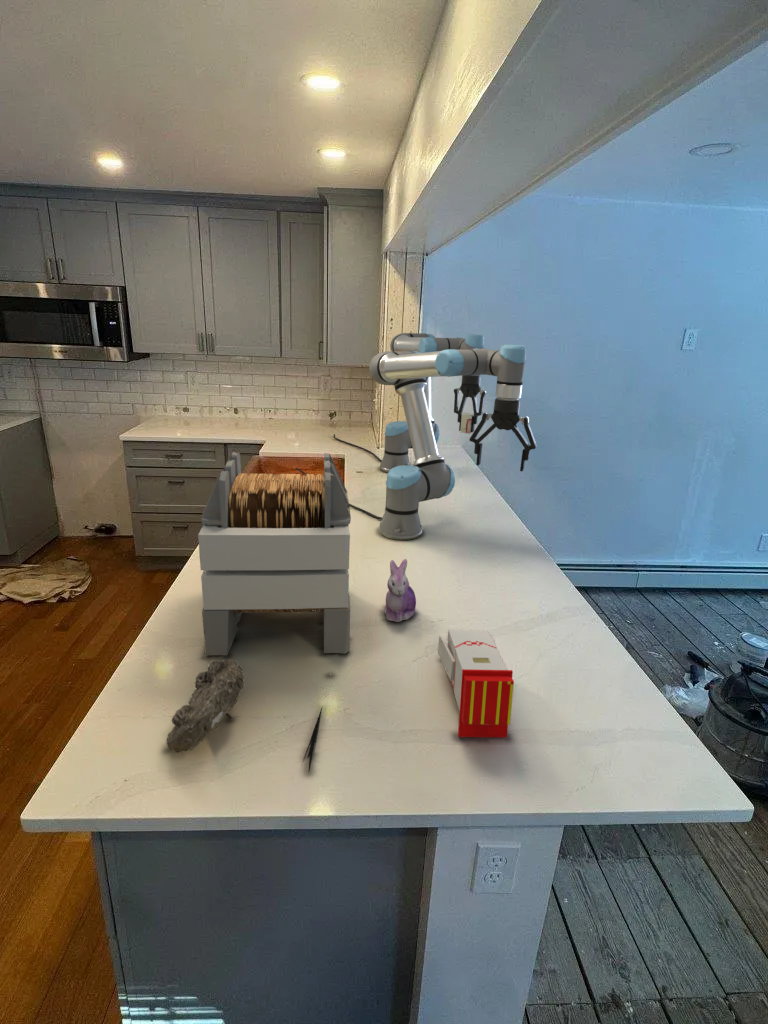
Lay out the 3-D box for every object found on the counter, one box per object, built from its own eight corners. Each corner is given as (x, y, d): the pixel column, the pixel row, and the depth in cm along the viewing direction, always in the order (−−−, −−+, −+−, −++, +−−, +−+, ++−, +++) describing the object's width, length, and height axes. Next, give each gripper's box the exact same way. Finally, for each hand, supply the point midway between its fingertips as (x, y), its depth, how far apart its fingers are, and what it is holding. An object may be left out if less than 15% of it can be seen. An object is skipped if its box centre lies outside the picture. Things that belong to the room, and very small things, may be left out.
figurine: (392, 627, 141) (395, 572, 136) (374, 608, 149) (376, 556, 144) (425, 619, 145) (429, 566, 140) (405, 601, 154) (408, 550, 149)
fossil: (192, 660, 117) (244, 628, 112) (224, 691, 120) (276, 661, 115) (142, 746, 98) (202, 712, 93) (182, 779, 101) (242, 748, 96)
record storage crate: (226, 586, 157) (217, 442, 143) (344, 585, 161) (346, 445, 147) (202, 658, 125) (189, 482, 112) (350, 654, 129) (354, 483, 115)
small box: (469, 434, 235) (471, 415, 233) (459, 432, 237) (461, 413, 234) (472, 431, 240) (474, 413, 237) (462, 430, 241) (464, 412, 239)
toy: (488, 613, 130) (523, 677, 101) (484, 667, 133) (517, 744, 104) (435, 612, 130) (455, 676, 101) (432, 666, 133) (451, 743, 103)
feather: (331, 679, 122) (336, 673, 122) (307, 777, 96) (313, 769, 95) (324, 675, 122) (329, 669, 121) (298, 772, 95) (304, 764, 95)
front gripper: (552, 401, 168) (542, 469, 176) (469, 393, 177) (463, 459, 184) (549, 404, 162) (539, 475, 169) (463, 396, 170) (457, 464, 177)
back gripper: (494, 375, 231) (488, 431, 239) (453, 371, 237) (448, 427, 244) (490, 376, 224) (484, 434, 232) (448, 373, 230) (444, 430, 238)
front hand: (499, 467), depth 176 cm, fingers open, 13 cm apart
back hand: (466, 430), depth 238 cm, fingers closed on small box, 4 cm apart
